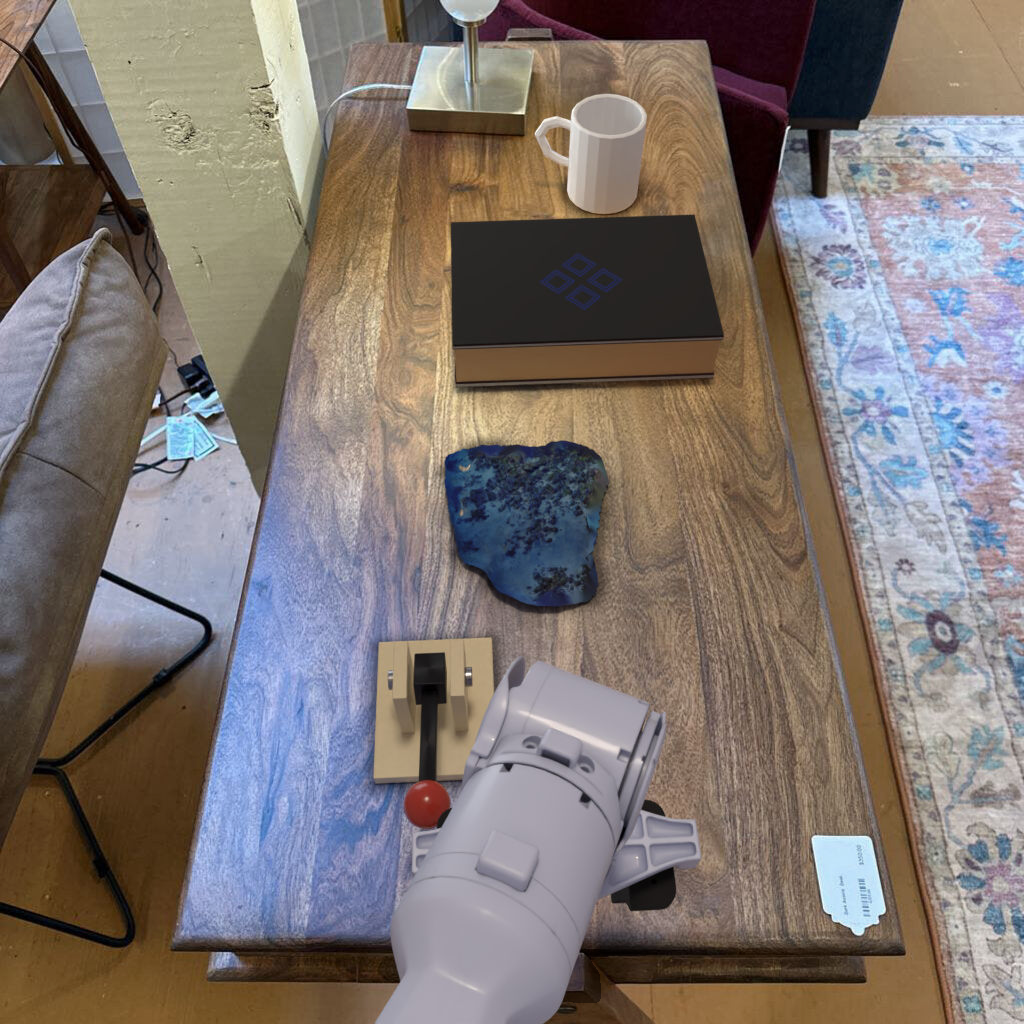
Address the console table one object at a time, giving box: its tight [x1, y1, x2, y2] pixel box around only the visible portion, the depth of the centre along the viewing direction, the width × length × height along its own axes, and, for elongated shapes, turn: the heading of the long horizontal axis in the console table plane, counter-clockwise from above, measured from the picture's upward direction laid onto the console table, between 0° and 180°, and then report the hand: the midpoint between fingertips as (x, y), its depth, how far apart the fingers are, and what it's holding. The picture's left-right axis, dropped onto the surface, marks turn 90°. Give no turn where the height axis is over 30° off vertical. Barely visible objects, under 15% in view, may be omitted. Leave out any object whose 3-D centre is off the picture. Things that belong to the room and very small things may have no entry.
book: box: [450, 214, 725, 389], centre depth 92 cm, size 17×25×7 cm
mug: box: [534, 93, 648, 215], centre depth 103 cm, size 8×12×10 cm
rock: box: [443, 439, 610, 608], centre depth 80 cm, size 15×17×2 cm
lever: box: [402, 652, 452, 830], centre depth 63 cm, size 13×3×3 cm, turn 3°
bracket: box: [372, 637, 495, 785], centre depth 68 cm, size 11×9×8 cm
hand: (550, 887), depth 54 cm, fingers open, 7 cm apart
